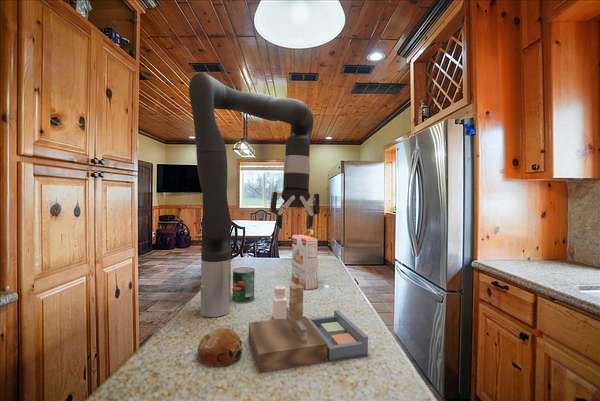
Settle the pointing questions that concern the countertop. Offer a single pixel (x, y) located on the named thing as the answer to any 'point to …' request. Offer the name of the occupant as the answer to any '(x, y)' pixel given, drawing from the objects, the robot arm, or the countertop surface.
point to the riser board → (284, 345)
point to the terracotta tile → (342, 339)
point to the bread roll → (220, 347)
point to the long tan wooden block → (296, 312)
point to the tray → (342, 349)
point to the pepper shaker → (279, 303)
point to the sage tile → (332, 329)
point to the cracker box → (304, 261)
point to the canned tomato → (243, 285)
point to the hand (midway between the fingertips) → (294, 228)
